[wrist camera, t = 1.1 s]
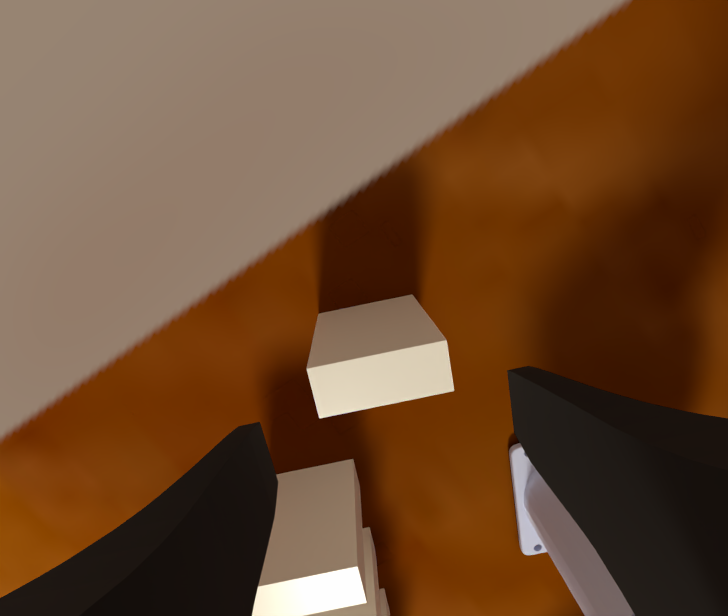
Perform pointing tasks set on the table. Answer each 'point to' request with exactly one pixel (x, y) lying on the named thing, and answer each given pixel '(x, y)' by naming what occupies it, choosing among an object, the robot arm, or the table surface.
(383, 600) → the tile
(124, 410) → the table surface
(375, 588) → the tile
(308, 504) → the tile
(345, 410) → the tile
